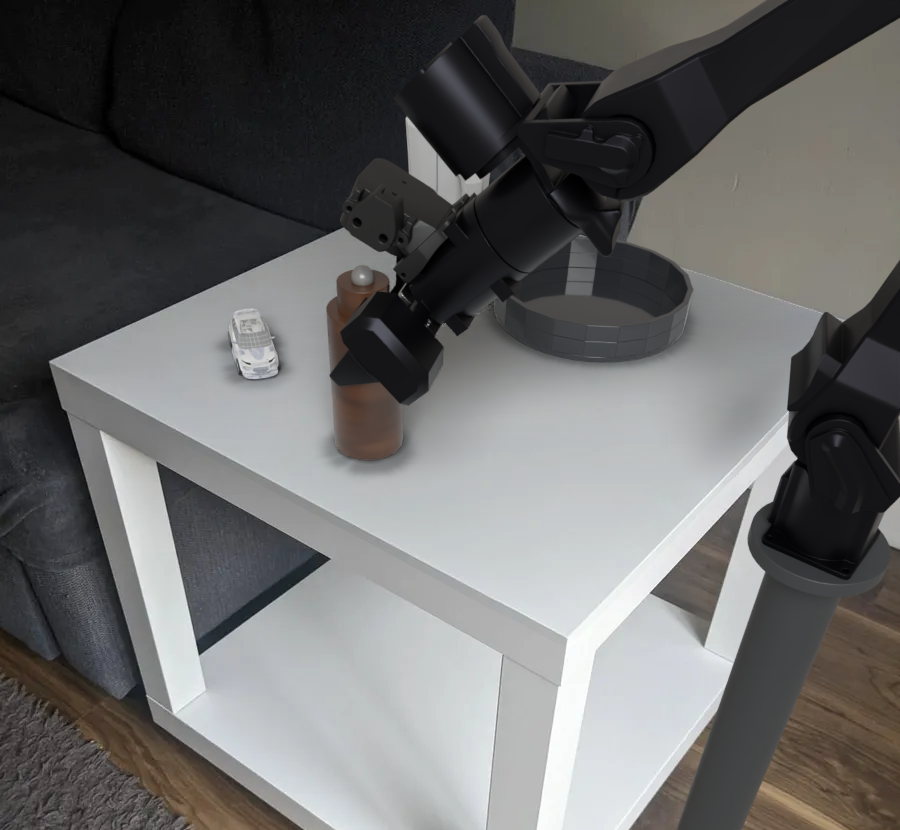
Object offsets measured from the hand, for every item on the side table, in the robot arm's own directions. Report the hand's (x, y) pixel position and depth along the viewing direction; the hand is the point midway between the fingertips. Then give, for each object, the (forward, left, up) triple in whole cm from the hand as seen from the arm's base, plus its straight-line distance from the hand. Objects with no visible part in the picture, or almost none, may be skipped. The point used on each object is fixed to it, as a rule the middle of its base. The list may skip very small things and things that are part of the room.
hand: (348, 360), depth 72 cm
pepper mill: (-1, -1, -7) cm, 7 cm away
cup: (+16, -35, -7) cm, 39 cm away
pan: (-3, -31, -7) cm, 31 cm away
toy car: (+15, -4, -7) cm, 17 cm away
